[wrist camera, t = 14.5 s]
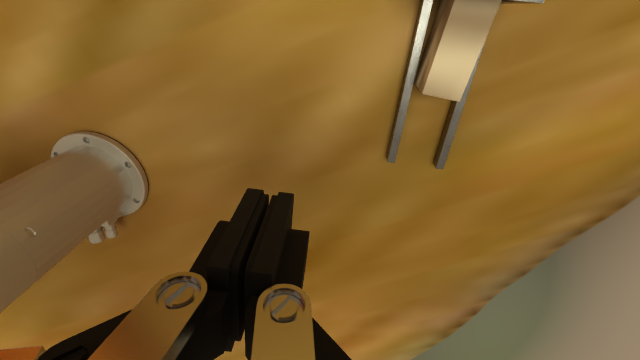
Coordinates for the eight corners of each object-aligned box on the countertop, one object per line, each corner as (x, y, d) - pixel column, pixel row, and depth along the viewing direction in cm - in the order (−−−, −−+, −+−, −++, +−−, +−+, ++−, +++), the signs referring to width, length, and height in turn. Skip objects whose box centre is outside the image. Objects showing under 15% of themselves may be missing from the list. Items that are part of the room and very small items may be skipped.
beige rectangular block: (446, 89, 33) (459, 101, 28) (413, 82, 33) (422, 93, 29) (499, -50, 27) (526, -61, 23) (459, -59, 27) (479, -71, 23)
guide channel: (440, 163, 37) (443, 169, 35) (386, 156, 37) (387, 161, 36) (491, 2, 29) (497, 2, 27) (422, -5, 29) (425, -6, 28)
